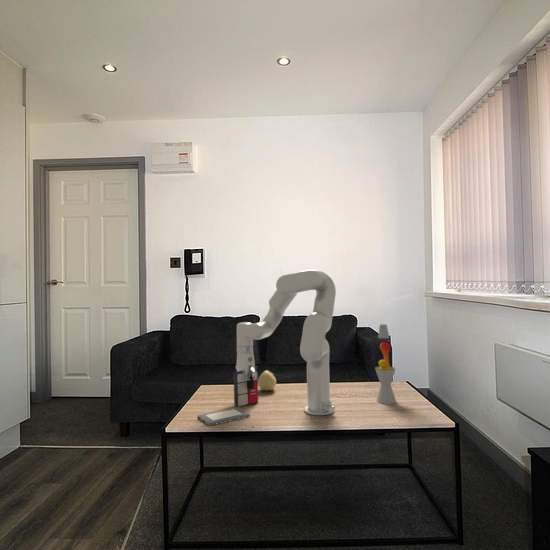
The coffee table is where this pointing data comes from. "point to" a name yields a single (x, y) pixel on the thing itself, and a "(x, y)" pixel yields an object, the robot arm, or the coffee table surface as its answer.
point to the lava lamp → (385, 371)
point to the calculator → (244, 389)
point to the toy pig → (267, 381)
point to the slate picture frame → (223, 415)
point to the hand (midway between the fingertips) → (245, 386)
